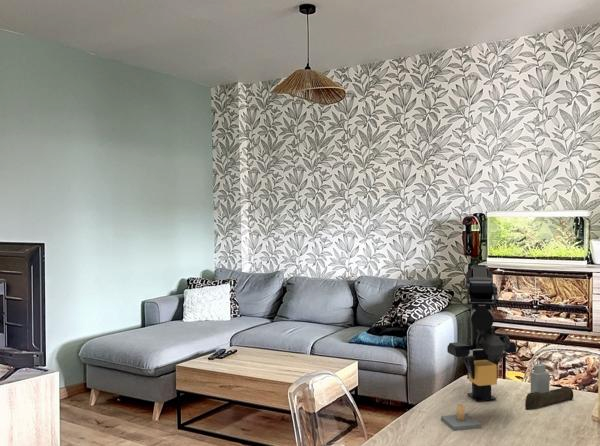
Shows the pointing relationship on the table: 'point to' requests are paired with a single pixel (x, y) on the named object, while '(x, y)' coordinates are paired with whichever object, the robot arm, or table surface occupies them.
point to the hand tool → (547, 397)
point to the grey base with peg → (461, 420)
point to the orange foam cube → (484, 373)
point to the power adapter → (539, 378)
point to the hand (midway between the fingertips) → (482, 377)
